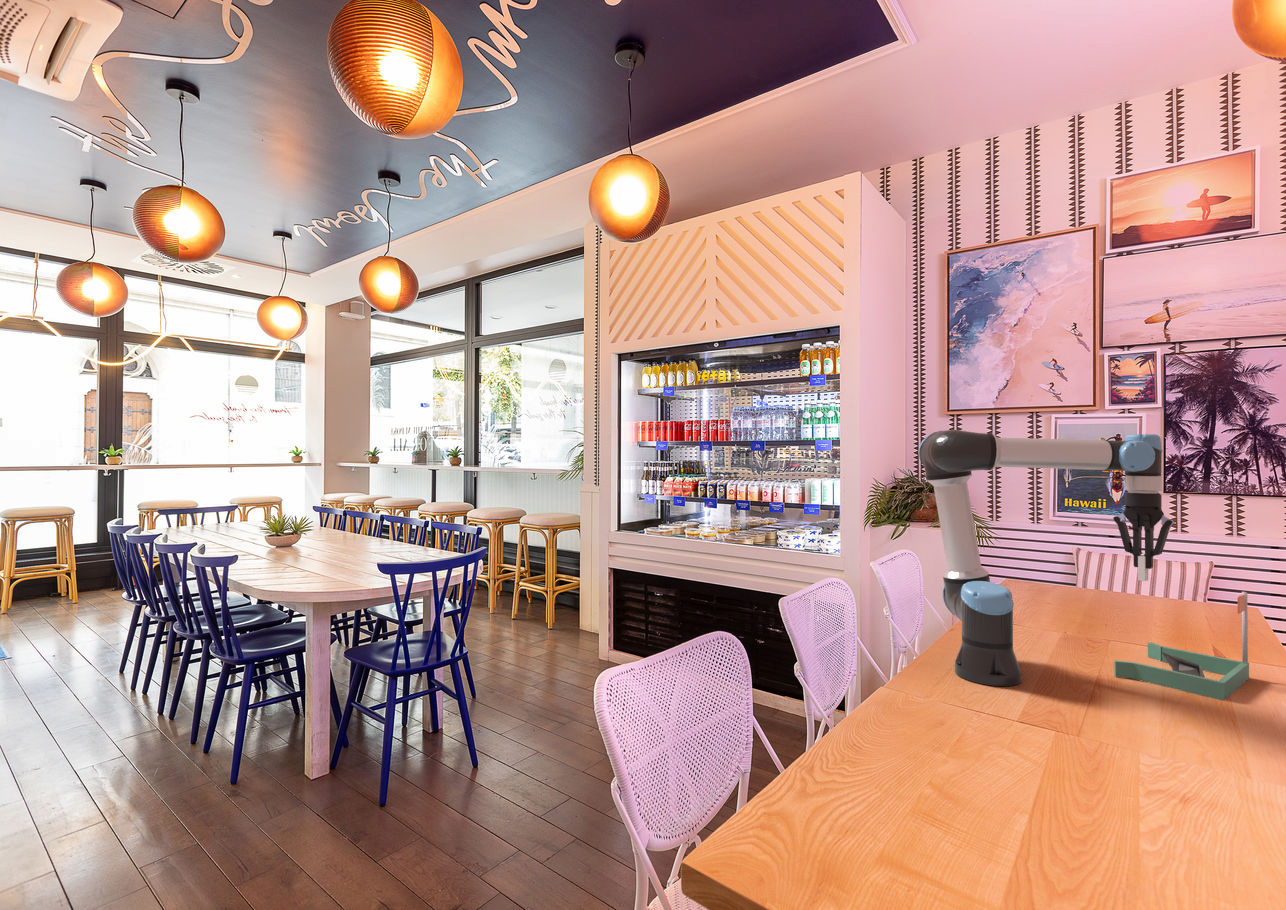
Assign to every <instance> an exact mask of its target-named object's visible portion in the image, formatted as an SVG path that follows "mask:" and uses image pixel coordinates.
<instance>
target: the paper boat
mask: <svg viewBox="0 0 1286 910" xmlns="http://www.w3.org/2000/svg"><path fill="white" fill-rule="evenodd" d="M1162 654H1163V655H1164V657H1165V659H1166V660H1167V662H1168V663H1167V664H1168V665H1169V667H1170V668H1171V670H1172V671H1176V672H1181V673H1186V674H1190V675H1195V676H1199V677H1204V678H1206V676H1205V673H1204V670H1202V667H1201V666H1200V665H1199V664H1196V663H1193V662H1190V661H1187V660H1184V659H1181V658H1178V657H1175V656H1172V655H1169V654H1166V653H1163V652H1162Z"/></svg>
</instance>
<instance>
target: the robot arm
mask: <svg viewBox="0 0 1286 910" xmlns="http://www.w3.org/2000/svg"><path fill="white" fill-rule="evenodd" d="M1124 438H1125V439H1124V440H1110V439H1109V440H1103V439H1100V440H1099V439H1073V438H1072V439H1071V438H1068V439H1067V438H1066V439H1065V438H1031V437H1030V438H1028V437H1027V438H1026V437H1025V438H1024V437H1019V438H1018V437H997V436H996V435H995V434H994V433H984V432H983V433H982V432H972V431H967V430H962V429H961V430H959V429H949V430H938V431H934V432H933V433H930V434H929V435H927V436H926V437H925V438H923V440H922V441H921V443H920V445H919V447H918V457H919V460H920V462H921V465H922V466H923V467H924V473H925V479H926V482H928V483H929V484H930V485H931V486H933V492H934V496H935V502H936V509H937V513H938V514H937V515H938V520H939V527H940V531H941V532H940V533H941V536H942V537H941V539H942V543H943V550H944V555H945V561H946V566H947V567H946V570H945V571H944V573H942V578H943V588H942V600H943V602H944V605H945V606H946V608H947V610H948V611H949V612H950V613H951V614H952V615H953V616H955V617H956V618H957V619H959V620H960V621H961V645H960V648H959V650H958V652H957V655H956V658H955V662H954V673H955V675H957V676H958V677H960V678H962V679H964V680H967V681H970V682H974V683H977V684H981V685H986V686H994V687H995V686H996V687H1011V686H1016V685H1019V684H1020V683H1022V670H1021V668H1020V664H1019V663H1018V659H1017V656H1016V654H1015V651H1014V606H1015V605H1014V600H1013V594H1012V592H1011V590H1010V589H1009V588H1007V586H1004V585H1002V584H998V583H995V582H991V579H990V573H989V571H988V570H987V569H986V568H984V567H983V566H982V563H981V556H980V551H979V546H978V545H979V544H978V539H977V534H976V527H975V521H974V515H973V512H972V511H973V510H972V504H971V498H970V492H969V486H968V481H969V480H970V478H971V477H972V472H974V471H993V470H994V469H995V468H996V467H997V468H1027V469H1028V468H1029V469H1063V470H1088V471H1093V470H1094V471H1095V470H1096V471H1097V470H1098V471H1100V470H1101V471H1119V472H1121V471H1122V472H1123V471H1124V472H1125V477H1124V478H1125V485H1124V486H1125V487H1124V488H1125V490H1126V491H1127V492H1126V493H1125V500H1124V501H1125V503H1124V504H1125V507H1124V510H1123V512H1122V513H1121V514H1118V515H1116V516H1114V517H1112V519H1113V521H1114V522H1115V524H1116V525H1117V528H1118V531H1119V535H1120V537H1121V541H1122V544H1123V545H1122V546H1123V549H1124V551H1125V552H1126V553H1129V554H1131V555H1132V556H1133V566H1134V568H1137V581H1140V582H1147V581H1149V570H1151V569H1153V568H1154V556H1160V555H1162V554H1163V551H1164V548H1165V545H1166V541H1167V539H1168V535H1169V532H1170V528H1172V526H1174V525H1175V523H1176V522H1175V520H1174V519H1170V518H1169V517H1167V516H1166V515H1165V513H1164V511H1163V510H1162V506H1163V505H1162V494H1161V493H1160V492H1161V491H1162V456H1163V455H1162V453H1163V447H1162V439H1161V436H1160V435H1158V434H1156V433H1149V434H1148V433H1146V434H1145V433H1142V434H1139V433H1138V434H1134V433H1133V434H1127V435H1126V436H1125V437H1124ZM1127 520H1128V522H1129V523H1130V524H1131V525H1132V539H1131V537H1130V536H1131V535H1130V532H1129V529H1128V526H1127V523H1126V522H1127ZM1160 521H1161V522H1160ZM1159 522H1160V524H1161V525H1162V526H1161V527H1160V530H1159V533H1158V536H1157V539H1156V542H1155V545H1154V540H1155V539H1154V537H1155V536H1154V535H1155V534H1154V533H1155V532H1154V531H1155V526H1157V524H1158V523H1159ZM1142 530H1144V554H1143V551H1142V550H1143V549H1142V543H1143V542H1142V541H1143V540H1142V537H1143V536H1142ZM1142 554H1143V555H1142Z"/></svg>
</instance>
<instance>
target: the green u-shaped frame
mask: <svg viewBox="0 0 1286 910" xmlns="http://www.w3.org/2000/svg"><path fill="white" fill-rule="evenodd" d="M1237 614H1238V615H1239V614H1241V637H1242V638H1241V646H1242V647H1241V648H1242V649H1241V650H1242V651H1241V654H1242V655H1241V658H1242V660H1241V661H1239V660H1235V659H1229V658H1226V657H1225V658H1224V657H1221V656H1220V657H1219V656H1216V655H1215V656H1213V655H1209V654H1204V653H1199V652H1193V651H1189V650H1185V649H1179V648H1173V647H1168V646H1164V645H1161V644H1159V643H1154V642H1147V657H1148V656H1149V657H1148V658H1150V657H1151V658H1150V659H1153V658H1154V659H1153V660H1156V659H1157V660H1156V661H1158V660H1160V661H1159V662H1162V661H1163V662H1162V663H1166V662H1167V660H1166V659H1165V657H1164V655H1163V654H1162V652H1163V653H1166V654H1169V655H1172V656H1175V657H1178V658H1181V659H1184V660H1187V661H1190V662H1193V663H1196V664H1199V665H1200V666H1201V667H1202V670H1203V671H1204V670H1206V671H1205V672H1208V671H1210V672H1209V673H1213V672H1215V674H1218V673H1220V674H1219V675H1223V674H1224V675H1223V677H1221V678H1220V679H1219V680H1218V679H1212V678H1208V677H1205V678H1204V677H1199V676H1195V675H1190V674H1186V673H1181V672H1176V671H1173V670H1172V669H1167V668H1162V667H1157V666H1154V665H1153V666H1152V665H1148V664H1144V663H1140V662H1133V661H1125V660H1115V659H1114V660H1113V664H1114V665H1113V671H1114V672H1113V675H1114V677H1115V678H1119V677H1124V678H1123V679H1128V678H1132V679H1131V680H1135V679H1137V680H1136V681H1139V680H1142V681H1141V682H1144V681H1145V683H1148V682H1150V683H1149V684H1152V683H1154V684H1153V685H1156V684H1158V685H1157V686H1161V685H1162V686H1161V687H1165V686H1166V688H1169V687H1170V689H1173V688H1174V690H1177V689H1178V690H1179V691H1181V692H1186V691H1187V692H1186V693H1191V694H1194V693H1195V695H1199V696H1202V697H1207V698H1211V699H1216V700H1220V701H1226V699H1228V698H1229V697H1230V696H1231V695H1232V694H1234V692H1236V691H1237V690H1238V689H1239V688H1241V687H1242V686H1243V685H1244V684H1245V683H1246V682H1247V681H1248V680H1250V663H1249V655H1248V654H1249V652H1248V651H1249V648H1248V647H1249V646H1248V645H1249V643H1248V642H1249V641H1248V639H1249V638H1248V635H1249V633H1248V632H1249V631H1248V627H1249V626H1248V623H1249V622H1248V619H1249V618H1248V616H1249V615H1248V592H1247V591H1241V595H1239V596H1238V597H1237ZM1246 680H1247V681H1246ZM1245 681H1246V682H1245ZM1244 682H1245V683H1244ZM1243 683H1244V684H1243ZM1242 684H1243V685H1242ZM1235 690H1236V691H1235Z"/></svg>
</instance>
